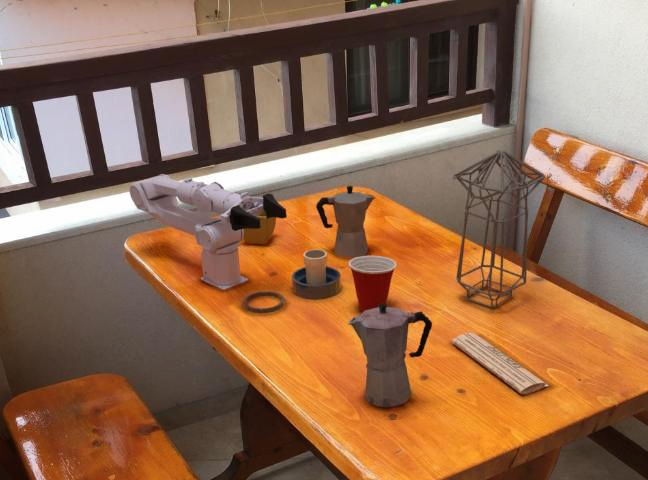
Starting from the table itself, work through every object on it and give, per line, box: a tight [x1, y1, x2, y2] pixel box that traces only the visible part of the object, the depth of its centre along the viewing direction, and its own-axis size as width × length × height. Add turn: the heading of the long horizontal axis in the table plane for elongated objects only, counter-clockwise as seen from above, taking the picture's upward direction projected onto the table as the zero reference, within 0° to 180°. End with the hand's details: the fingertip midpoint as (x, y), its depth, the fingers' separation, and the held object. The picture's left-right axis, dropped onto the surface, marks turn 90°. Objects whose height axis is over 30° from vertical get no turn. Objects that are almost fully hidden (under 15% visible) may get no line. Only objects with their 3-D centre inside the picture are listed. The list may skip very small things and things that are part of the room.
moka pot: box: [348, 303, 433, 408], centre depth 162 cm, size 10×15×20 cm, turn 95°
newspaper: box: [451, 332, 550, 395], centre depth 176 cm, size 24×7×2 cm, turn 29°
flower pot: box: [243, 210, 277, 246], centre depth 232 cm, size 9×9×9 cm
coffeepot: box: [315, 185, 376, 259], centre depth 222 cm, size 15×9×18 cm, turn 103°
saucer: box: [242, 290, 285, 314], centre depth 201 cm, size 9×10×2 cm
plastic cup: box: [348, 255, 397, 313], centre depth 196 cm, size 11×11×12 cm
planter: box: [291, 265, 342, 300], centre depth 207 cm, size 12×12×4 cm
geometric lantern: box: [452, 150, 546, 309], centre depth 193 cm, size 16×16×35 cm
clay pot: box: [302, 249, 328, 285], centre depth 205 cm, size 6×6×9 cm
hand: (272, 218), depth 190 cm, fingers open, 7 cm apart
